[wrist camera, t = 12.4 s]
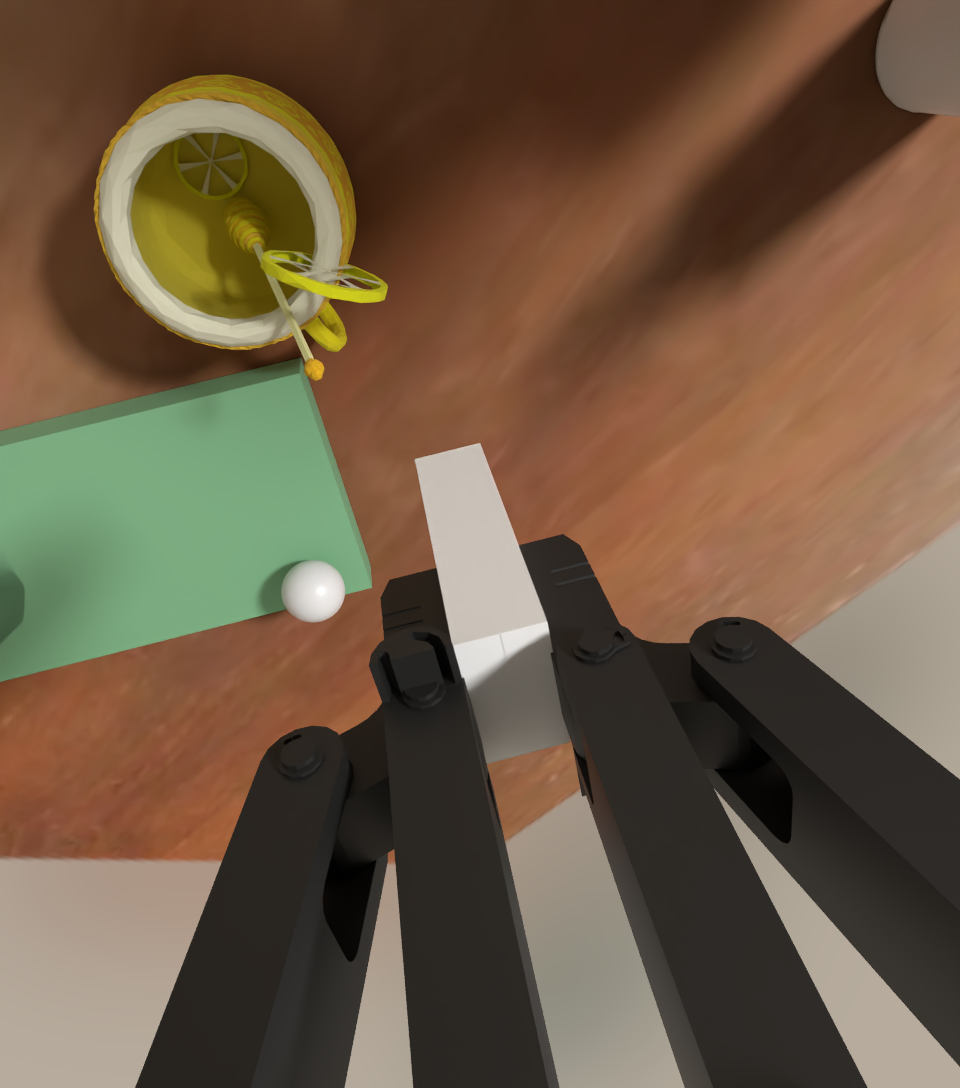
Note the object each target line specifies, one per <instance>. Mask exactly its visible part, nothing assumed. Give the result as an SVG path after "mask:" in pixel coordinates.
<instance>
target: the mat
mask: <svg viewBox="0 0 960 1088" xmlns="http://www.w3.org/2000/svg"><path fill="white" fill-rule="evenodd" d="M307 560H320V561H324V562H326V563H328V564H330V565H332V566H333V567H334V568H335V569H337V571H338V572H339V573H340V575H341V576H342V579H343V581H344V585H345V594H349V593H353V592H357V591H361V590H364V589H368V588H372V581H371V567H370V562H369V559H368V557H367V554H366V551H365V548H364V545H363V542H362V539H361V536H360V533H359V530H358V527H357V524H356V521H355V518H354V515H353V512H352V509H351V506H350V503H349V500H348V497H347V494H346V491H345V488H344V485H343V482H342V479H341V476H340V473H339V470H338V467H337V464H336V461H335V458H334V455H333V452H332V449H331V446H330V443H329V440H328V437H327V434H326V431H325V428H324V425H323V422H322V419H321V416H320V413H319V410H318V407H317V404H316V401H315V398H314V395H313V392H312V389H311V386H310V383H309V380H308V377H307V376H306V375H305V373H304V365H303V362H302V359H301V358H297V359H293V360H289V361H285V362H281V363H277V364H273V365H268V366H264V367H260V368H256V369H252V370H248V371H244V372H240V373H236V374H232V375H228V376H223V377H219V378H215V379H211V380H207V381H203V382H199V383H195V384H191V385H187V386H182V387H178V388H174V389H170V390H166V391H162V392H158V393H154V394H150V395H146V396H142V397H137V398H133V399H129V400H125V401H121V402H117V403H113V404H109V405H105V406H101V407H97V408H92V409H88V410H84V411H80V412H76V413H72V414H68V415H64V416H60V417H56V418H52V419H47V420H43V421H39V422H35V423H31V424H27V425H23V426H19V427H15V428H11V429H6V430H2V431H0V682H2V681H5V680H9V679H13V678H17V677H21V676H25V675H29V674H33V673H37V672H41V671H45V670H49V669H53V668H57V667H61V666H65V665H69V664H73V663H76V662H80V661H84V660H88V659H92V658H96V657H100V656H104V655H108V654H112V653H116V652H120V651H124V650H128V649H132V648H136V647H140V646H144V645H147V644H151V643H155V642H159V641H163V640H167V639H171V638H175V637H179V636H183V635H187V634H191V633H195V632H199V631H203V630H207V629H211V628H215V627H218V626H222V625H226V624H230V623H234V622H238V621H242V620H246V619H250V618H254V617H258V616H262V615H266V614H270V613H274V612H278V611H282V610H286V607H285V605H284V603H283V600H282V595H281V588H282V583H283V580H284V578H285V576H286V574H287V573H288V572H289V570H290V569H291V568H293V567H294V566H295V565H297V564H299V563H301V562H303V561H307Z"/></svg>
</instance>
